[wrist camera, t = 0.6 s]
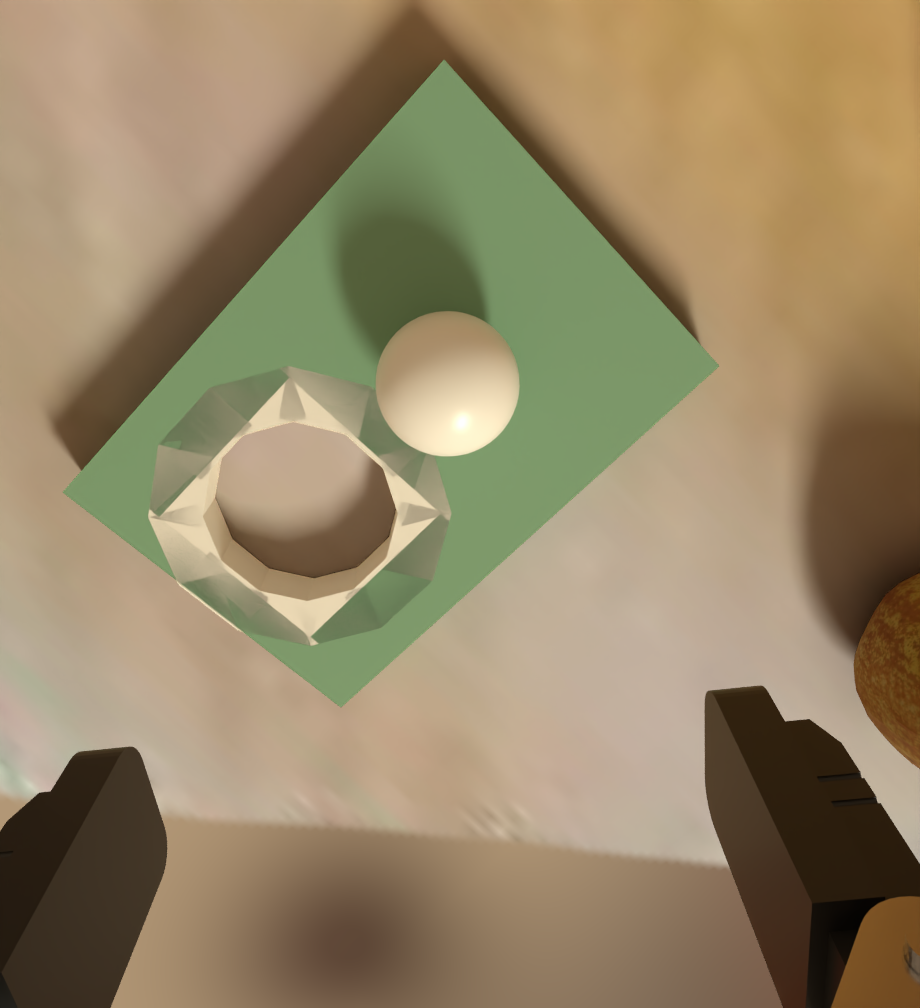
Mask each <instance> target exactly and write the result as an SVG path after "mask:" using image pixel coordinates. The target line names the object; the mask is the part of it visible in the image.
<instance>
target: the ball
mask: <svg viewBox="0 0 920 1008" xmlns="http://www.w3.org/2000/svg"><path fill="white" fill-rule="evenodd" d="M519 388H520V384H519V372H518V367H517V363H516V360H515V357H514V355H513V353H512V351H511V348H510V347H509V345H508V344H507V342H506V341H505V340H504V338H503V337H502V336H501V335H500V334H499V333H498V332H497V331H496V330H495V329H494V328H493V327H492V326H491V325H489V324H488V323H486V322H485V321H483V320H481V319H479V318H477V317H475V316H472V315H469V314H466V313H461V312H455V311H440V312H434V313H429V314H426V315H423V316H420V317H418V318H416V319H414V320H412V321H410V322H409V323H407V324H406V325H404V326H403V327H402V328H401V329H400V330H399V331H397V332H396V333H395V335H394V336H393V337H392V338H391V339H390V341H389V342H388V344H387V345H386V347H385V349H384V350H383V353H382V355H381V357H380V360H379V363H378V366H377V372H376V396H377V401H378V405H379V408H380V410H381V413H382V415H383V417H384V419H385V420H386V422H387V424H388V425H389V427H390V428H391V429H392V431H393V432H394V433H395V434H396V435H397V436H398V437H399V438H400V439H401V440H403V441H404V442H405V443H406V444H408V445H410V446H411V447H413V448H415V449H417V450H419V451H421V452H424V453H427V454H431V455H436V456H448V457H449V456H459V455H464V454H468V453H471V452H474V451H476V450H478V449H480V448H483V447H484V446H486V445H487V444H489V443H490V442H492V441H493V440H494V439H495V438H496V437H497V436H498V435H499V434H500V433H501V432H502V431H503V430H504V428H505V427H506V426H507V424H508V423H509V421H510V419H511V417H512V415H513V413H514V410H515V408H516V405H517V401H518V397H519Z"/></svg>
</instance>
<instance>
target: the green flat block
mask: <svg viewBox="0 0 920 1008" xmlns="http://www.w3.org/2000/svg"><path fill="white" fill-rule="evenodd" d="M440 311H455V312H461V313H466V314H469V315H472V316H475V317H477V318H479V319H481V320H483V321H485V322H486V323H488V324H489V325H491V326H492V327H493V328H494V329H495V330H496V331H497V332H498V333H499V334H500V335H501V336H502V337H503V338H504V340H505V341H506V342H507V344H508V345H509V347H510V348H511V351H512V353H513V355H514V357H515V360H516V363H517V367H518V372H519V384H520V388H519V397H518V401H517V405H516V408H515V410H514V413H513V415H512V417H511V419H510V421H509V423H508V424H507V426H506V427H505V428H504V430H503V431H502V432H501V433H500V434H499V435H498V436H497V437H496V438H495V439H494V440H493V441H492V442H490V443H489V444H487V445H486V446H484V447H483V448H480V449H478V450H476V451H474V452H471V453H468V454H464V455H459V456H449V457H448V456H436V455H431V454H427V453H424V452H421V451H419V450H417V449H415V448H413V447H411V446H410V445H408V444H406V443H405V442H404V441H403V440H401V439H400V438H399V437H398V436H397V435H396V434H395V433H394V432H393V431H392V429H391V428H390V427H389V425H388V424H387V422H386V420H385V419H384V417H383V415H382V413H381V410H380V408H379V405H378V401H377V396H376V372H377V366H378V363H379V360H380V357H381V355H382V353H383V350H384V349H385V347H386V345H387V344H388V342H389V341H390V339H391V338H392V337H393V336H394V335H395V333H396V332H397V331H399V330H400V329H401V328H402V327H403V326H404V325H406V324H407V323H409V322H410V321H412V320H414V319H416V318H418V317H420V316H423V315H426V314H429V313H434V312H440ZM718 367H719V365H718V364H717V363H716V362H715V361H714V359H713V358H712V357H711V356H710V355H709V354H708V353H707V352H706V351H705V349H704V348H703V347H702V346H701V345H700V344H699V343H698V342H697V341H696V339H695V338H694V337H693V336H692V335H691V334H690V333H689V332H688V331H687V329H686V328H685V327H684V326H683V325H682V324H681V323H680V322H679V320H678V319H677V318H676V317H675V316H674V315H673V314H672V313H671V312H670V310H669V309H668V308H667V307H666V306H665V305H664V304H663V303H662V302H661V300H660V299H659V298H658V297H657V296H656V295H655V294H654V293H653V292H652V290H651V289H650V288H649V287H648V286H647V285H646V284H645V283H644V282H643V280H642V279H641V278H640V277H639V276H638V275H637V274H636V273H635V271H634V270H633V269H632V268H631V267H630V266H629V265H628V264H627V263H626V261H625V260H624V259H623V258H622V257H621V256H620V255H619V254H618V253H617V251H616V250H615V249H614V248H613V247H612V246H611V245H610V244H609V243H608V241H607V240H606V239H605V238H604V237H603V236H602V235H601V234H600V233H599V231H598V230H597V229H596V228H595V227H594V226H593V225H592V224H591V223H590V221H589V220H588V219H587V218H586V217H585V216H584V215H583V214H582V212H581V211H580V210H579V209H578V208H577V207H576V206H575V205H574V204H573V202H572V201H571V200H570V199H569V198H568V197H567V196H566V195H565V194H564V192H563V191H562V190H561V189H560V188H559V187H558V186H557V185H556V184H555V182H554V181H553V180H552V179H551V178H550V177H549V176H548V175H547V174H546V172H545V171H544V170H543V169H542V168H541V167H540V166H539V165H538V164H537V162H536V161H535V160H534V159H533V158H532V157H531V156H530V155H529V153H528V152H527V151H526V150H525V149H524V148H523V147H522V146H521V145H520V143H519V142H518V141H517V140H516V139H515V138H514V137H513V136H512V135H511V133H510V132H509V131H508V130H507V129H506V128H505V127H504V126H503V125H502V123H501V122H500V121H499V120H498V119H497V118H496V117H495V116H494V115H493V113H492V112H491V111H490V110H489V109H488V108H487V107H486V106H485V105H484V103H483V102H482V101H481V100H480V99H479V98H478V97H477V96H476V94H475V93H474V92H473V91H472V90H471V89H470V88H469V87H468V86H467V84H466V83H465V82H464V81H463V80H462V79H461V78H460V77H459V76H458V74H457V73H456V72H455V71H454V70H453V69H452V68H451V67H450V66H449V64H448V63H447V62H446V61H445V60H443V61H442V62H441V64H440V65H439V66H438V67H437V68H436V69H435V70H434V71H433V73H432V74H431V75H430V76H429V77H428V78H427V79H426V81H425V82H424V83H423V84H422V85H421V86H420V87H419V88H418V90H417V91H416V92H415V93H414V94H413V95H412V96H411V98H410V99H409V100H408V101H407V102H406V103H405V104H404V106H403V107H402V108H401V109H400V110H399V111H398V112H397V113H396V115H395V116H394V117H393V118H392V119H391V120H390V121H389V123H388V124H387V125H386V126H385V127H384V128H383V129H382V130H381V132H380V133H379V134H378V135H377V136H376V137H375V138H374V140H373V141H372V142H371V143H370V144H369V145H368V146H367V147H366V149H365V150H364V151H363V152H362V153H361V154H360V155H359V157H358V158H357V159H356V160H355V161H354V162H353V163H352V165H351V166H350V167H349V168H348V169H347V170H346V171H345V172H344V174H343V175H342V176H341V177H340V178H339V179H338V180H337V182H336V183H335V184H334V185H333V186H332V187H331V188H330V189H329V191H328V192H327V193H326V194H325V195H324V196H323V197H322V199H321V200H320V201H319V202H318V203H317V204H316V205H315V206H314V208H313V209H312V210H311V211H310V212H309V213H308V214H307V216H306V217H305V218H304V219H303V220H302V221H301V222H300V224H299V225H298V226H297V227H296V228H295V229H294V230H293V231H292V233H291V234H290V235H289V236H288V237H287V238H286V239H285V241H284V242H283V243H282V244H281V245H280V246H279V247H278V248H277V250H276V251H275V252H274V253H273V254H272V255H271V256H270V258H269V259H268V260H267V261H266V262H265V263H264V264H263V265H262V267H261V268H260V269H259V270H258V271H257V272H256V273H255V275H254V276H253V277H252V278H251V279H250V280H249V281H248V283H247V284H246V285H245V286H244V287H243V288H242V289H241V290H240V292H239V293H238V294H237V295H236V296H235V297H234V298H233V300H232V301H231V302H230V303H229V304H228V305H227V306H226V307H225V309H224V310H223V311H222V312H221V313H220V314H219V315H218V317H217V318H216V319H215V320H214V321H213V322H212V323H211V324H210V326H209V327H208V328H207V329H206V330H205V331H204V332H203V334H202V335H201V336H200V337H199V338H198V339H197V340H196V342H195V343H194V344H193V345H192V346H191V347H190V348H189V349H188V351H187V352H186V353H185V354H184V355H183V356H182V357H181V359H180V360H179V361H178V362H177V363H176V364H175V365H174V366H173V368H172V369H171V370H170V371H169V372H168V373H167V374H166V376H165V377H164V378H163V379H162V380H161V381H160V382H159V383H158V385H157V386H156V387H155V388H154V389H153V390H152V391H151V393H150V394H149V395H148V396H147V397H146V398H145V399H144V401H143V402H142V403H141V404H140V405H139V406H138V407H137V408H136V410H135V411H134V412H133V413H132V414H131V415H130V416H129V418H128V419H127V420H126V421H125V422H124V423H123V424H122V425H121V427H120V428H119V429H118V430H117V431H116V432H115V433H114V435H113V436H112V437H111V438H110V439H109V440H108V441H107V442H106V444H105V445H104V446H103V447H102V448H101V449H100V450H99V452H98V453H97V454H96V455H95V456H94V457H93V458H92V460H91V461H90V462H89V463H88V464H87V465H86V466H85V467H84V469H83V470H82V471H81V472H80V473H79V474H78V475H77V477H76V478H75V479H74V480H73V481H72V482H71V483H70V484H69V486H68V487H67V488H66V489H65V490H64V491H63V493H64V494H65V495H67V496H68V497H69V498H71V499H72V500H73V501H74V502H76V503H77V504H78V505H80V506H81V507H82V508H84V509H85V510H86V511H87V512H89V513H90V514H91V515H93V516H94V517H95V518H96V519H98V520H99V521H100V522H102V523H103V524H104V525H105V526H107V527H108V528H109V529H111V530H112V531H113V532H115V533H116V534H117V535H118V536H120V537H121V538H122V539H124V540H125V541H126V542H127V543H129V544H130V545H131V546H133V547H134V548H135V549H137V550H138V551H139V552H140V553H142V554H143V555H144V556H146V557H147V558H148V559H149V560H151V561H152V562H153V563H155V564H156V565H157V566H159V567H160V568H161V569H162V570H164V571H165V572H166V573H168V574H169V575H170V576H171V577H173V578H174V579H175V580H176V581H177V583H178V585H179V586H181V587H182V588H183V589H185V590H186V591H187V592H188V593H190V594H191V595H192V596H194V597H195V598H196V599H198V600H199V601H200V602H201V603H203V604H204V605H205V606H207V607H208V608H209V609H211V610H212V611H213V612H214V613H216V614H217V615H218V616H220V617H221V618H222V619H223V620H225V621H226V622H227V623H229V624H230V625H231V626H233V627H234V628H235V629H236V630H238V631H242V632H244V633H245V634H246V635H248V636H249V637H250V638H252V639H253V640H254V641H256V642H257V643H258V644H259V645H261V646H262V647H263V648H265V649H266V650H267V651H268V652H270V653H271V654H272V655H274V656H275V657H276V658H277V659H279V660H280V661H281V662H283V663H284V664H285V665H287V666H288V667H289V668H290V669H292V670H293V671H294V672H296V673H297V674H298V675H299V676H301V677H302V678H303V679H305V680H306V681H307V682H309V683H310V684H311V685H312V686H314V687H315V688H316V689H318V690H319V691H320V692H321V693H323V694H324V695H325V696H327V697H328V698H329V699H331V700H332V701H333V702H334V703H336V704H337V705H338V706H340V707H342V706H343V705H344V704H345V703H347V702H348V701H349V700H350V699H351V698H352V697H353V696H354V695H355V694H357V693H358V692H359V691H360V690H361V689H362V688H363V687H364V686H365V685H367V684H368V683H369V682H370V681H371V680H372V679H373V678H374V677H375V676H377V675H378V674H379V673H380V672H381V671H382V670H383V669H384V668H385V667H386V666H388V665H389V664H390V663H391V662H392V661H393V660H394V659H395V658H396V657H398V656H399V655H400V654H401V653H402V652H403V651H404V650H405V649H406V648H408V647H409V646H410V645H411V644H412V643H413V642H414V641H415V640H416V639H418V638H419V637H420V636H421V635H422V634H423V633H424V632H425V631H426V630H427V629H429V628H430V627H431V626H432V625H433V624H434V623H435V622H436V621H437V620H439V619H440V618H441V617H442V616H443V615H444V614H445V613H446V612H447V611H449V610H450V609H451V608H452V607H453V606H454V605H455V604H456V603H457V602H459V601H460V600H461V599H462V598H463V597H464V596H465V595H466V594H467V593H468V592H470V591H471V590H472V589H473V588H474V587H475V586H476V585H477V584H478V583H480V582H481V581H482V580H483V579H484V578H485V577H486V576H487V575H488V574H490V573H491V572H492V571H493V570H494V569H495V568H496V567H497V566H498V565H500V564H501V563H502V562H503V561H504V560H505V559H506V558H507V557H508V556H509V555H511V554H512V553H513V552H514V551H515V550H516V549H517V548H518V547H519V546H521V545H522V544H523V543H524V542H525V541H526V540H527V539H528V538H529V537H531V536H532V535H533V534H534V533H535V532H536V531H537V530H538V529H539V528H541V527H542V526H543V525H544V524H545V523H546V522H547V521H548V520H549V519H550V518H552V517H553V516H554V515H555V514H556V513H557V512H558V511H559V510H560V509H562V508H563V507H564V506H565V505H566V504H567V503H568V502H569V501H570V500H572V499H573V498H574V497H575V496H576V495H577V494H578V493H579V492H580V491H582V490H583V489H584V488H585V487H586V486H587V485H588V484H589V483H590V482H591V481H593V480H594V479H595V478H596V477H597V476H598V475H599V474H600V473H601V472H603V471H604V470H605V469H606V468H607V467H608V466H609V465H610V464H611V463H613V462H614V461H615V460H616V459H617V458H618V457H619V456H620V455H621V454H623V453H624V452H625V451H626V450H627V449H628V448H629V447H630V446H631V445H632V444H634V443H635V442H636V441H637V440H638V439H639V438H640V437H641V436H642V435H644V434H645V433H646V432H647V431H648V430H649V429H650V428H651V427H652V426H654V425H655V424H656V423H657V422H658V421H659V420H660V419H661V418H662V417H664V416H665V415H666V414H667V413H668V412H669V411H670V410H671V409H672V408H673V407H675V406H676V405H677V404H678V403H679V402H680V401H681V400H682V399H683V398H685V397H686V396H687V395H688V394H689V393H690V392H691V391H692V390H693V389H695V388H696V387H697V386H698V385H699V384H700V383H701V382H702V381H703V380H705V379H706V378H707V377H708V376H709V375H710V374H711V373H712V372H713V371H714V370H716V369H717V368H718ZM290 422H297V423H301V424H305V425H309V426H313V427H317V428H321V429H326V430H330V431H334V432H338V433H342V434H345V435H346V436H347V437H348V438H350V439H351V440H352V441H353V442H354V443H355V444H356V445H357V446H358V447H360V448H361V449H362V450H363V451H364V452H365V453H366V454H367V455H369V456H370V457H371V458H372V459H373V460H374V461H375V462H376V463H377V464H379V465H380V466H381V467H382V468H383V470H384V473H385V476H386V479H387V482H388V485H389V488H390V492H391V495H392V498H393V501H394V504H395V507H396V512H395V516H394V520H393V524H392V527H391V531H390V535H389V538H388V539H386V540H385V541H384V542H383V543H382V544H381V545H380V546H379V547H378V548H377V549H376V550H375V551H374V552H373V553H372V554H371V555H370V556H369V557H368V558H367V559H366V560H365V561H363V562H362V563H361V564H360V565H359V566H358V567H356V568H352V569H348V570H344V571H341V572H337V573H333V574H329V575H325V576H321V577H317V578H310V577H306V576H301V575H296V574H292V573H287V572H283V571H278V570H274V569H269V568H267V567H266V566H265V565H264V564H263V563H261V562H260V561H259V560H258V559H256V558H255V557H254V556H253V555H251V554H250V553H249V552H248V551H246V550H245V549H244V548H243V547H242V546H240V545H239V544H238V543H237V542H235V541H234V540H233V539H232V537H231V534H230V532H229V530H228V527H227V525H226V522H225V520H224V517H223V515H222V513H221V510H220V508H219V505H218V503H217V500H216V498H215V496H216V490H217V484H218V478H219V472H220V466H221V460H222V457H223V456H224V455H225V454H226V453H227V452H228V451H229V450H230V449H231V448H232V447H233V446H234V445H235V444H236V443H237V441H238V440H239V439H240V438H241V437H242V436H243V435H246V434H250V433H253V432H257V431H261V430H264V429H268V428H272V427H275V426H279V425H283V424H286V423H290Z"/></svg>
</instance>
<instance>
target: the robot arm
mask: <svg viewBox="0 0 920 1008" xmlns="http://www.w3.org/2000/svg"><path fill="white" fill-rule="evenodd" d="M705 786H706V794H707V800H708V806H709V810H710V814H711V818H712V822H713V825H714V828H715V830H716V833H717V836H718V838H719V841H720V843H721V846H722V849H723V851H724V854H725V857H726V859H727V862H728V864H729V867H730V870H731V872H732V875H733V878H734V880H735V883H736V885H737V887H738V891H739V893H740V896H741V899H742V901H743V903H744V906H745V909H746V912H747V914H748V917H749V919H750V922H751V925H752V927H753V930H754V932H755V935H756V938H757V940H758V943H759V946H760V948H761V951H762V954H763V956H764V959H765V961H766V964H767V967H768V969H769V972H770V974H771V977H772V980H773V982H774V985H775V987H776V990H777V993H778V995H779V998H780V1000H781V1003H782V1006H783V1008H920V864H919V862H918V860H917V859H916V857H915V856H914V854H913V853H912V851H911V850H910V848H909V847H908V845H907V843H906V842H905V840H904V839H903V837H902V836H901V834H900V833H899V831H898V830H897V828H896V826H895V825H894V823H893V822H892V820H891V819H890V817H889V816H888V814H887V813H886V811H885V810H884V808H883V806H882V805H881V803H878V802H877V799H876V796H875V794H874V793H873V791H872V789H871V788H870V786H869V785H868V783H867V782H866V780H865V779H864V778H861V774H860V771H859V769H858V768H857V766H856V765H855V763H854V762H853V760H852V759H851V757H850V755H849V754H848V752H847V751H846V749H845V748H844V746H843V745H842V743H841V742H839V741H838V740H837V739H835V738H834V737H833V736H831V735H830V734H829V733H827V732H826V731H825V730H823V729H822V728H821V727H819V726H818V725H816V724H815V723H814V722H812V721H811V720H810V719H807V720H796V721H786V722H785V721H784V719H783V717H782V716H781V714H780V712H779V710H778V709H777V707H776V705H775V703H774V702H773V700H772V698H771V696H770V695H769V693H768V691H767V690H766V689H765V688H764V687H763V686H751V687H741V688H731V689H721V690H711V691H708V692H707V693H706V696H705ZM166 858H167V837H166V831H165V827H164V824H163V821H162V818H161V815H160V812H159V809H158V805H157V802H156V799H155V796H154V793H153V790H152V787H151V784H150V781H149V778H148V775H147V772H146V769H145V766H144V763H143V760H142V757H141V755H140V753H139V752H138V750H137V749H136V748H134V747H122V748H112V749H102V750H92V751H82V752H78V753H76V754H75V755H74V756H73V757H72V758H71V760H70V761H69V763H68V765H67V766H66V768H65V769H64V771H63V773H62V774H61V776H60V777H59V779H58V781H57V782H56V784H55V785H54V787H53V789H52V790H51V792H42V793H39V794H37V795H36V796H35V797H34V798H33V799H32V800H31V801H29V802H28V803H27V804H26V805H25V806H24V807H23V808H22V809H20V810H19V811H18V812H17V813H16V814H15V815H14V816H12V818H10V819H9V820H8V821H7V822H6V824H5V825H4V826H3V828H2V830H1V831H0V1008H110V1007H111V1005H112V1002H113V1000H114V997H115V995H116V992H117V990H118V987H119V985H120V982H121V979H122V977H123V975H124V972H125V970H126V967H127V965H128V962H129V960H130V957H131V955H132V952H133V949H134V947H135V945H136V942H137V940H138V937H139V935H140V932H141V930H142V927H143V925H144V922H145V920H146V917H147V915H148V912H149V909H150V907H151V904H152V902H153V899H154V897H155V894H156V892H157V889H158V887H159V884H160V882H161V879H162V876H163V874H164V870H165V865H166Z"/></svg>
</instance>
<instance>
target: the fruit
mask: <svg viewBox="0 0 920 1008" xmlns="http://www.w3.org/2000/svg"><path fill="white" fill-rule="evenodd" d="M854 675H855V684H856V690H857V693H858V695H859V697H860V700H861V702H862V704H863V706H864V708H865V710H866V713H867V715H868V717H869V718H870V719H871V721H872V722H873V723H874V725H875V726H876V727H877V728H878V730H879V731H880V732H881V733H882V734H883V736H884V737H885V738H886V739H887V740H888V741H889V742H890V743H891V744H892V745H893V746H894V747H895V748H896V749H897V750H898V751H899V752H900V753H901V754H902V755H903V756H904V757H905V758H906V759H908V760H909V761H910V762H911V763H912V764H914V765H915V766H917V767H918V768H919V769H920V573H918V574H916V575H914V576H912V577H910V578H908V579H906V580H904V581H902V582H900V583H899V584H898V585H897V586H895V587H894V588H893V589H892V590H890V591H889V592H888V593H887V594H886V595H885V596H884V598H883V599H882V601H881V602H880V604H879V605H878V607H877V608H876V610H875V611H874V613H873V615H872V617H871V619H870V621H869V623H868V625H867V627H866V629H865V631H864V633H863V635H862V637H861V639H860V641H859V644H858V647H857V650H856V654H855V659H854Z"/></svg>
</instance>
